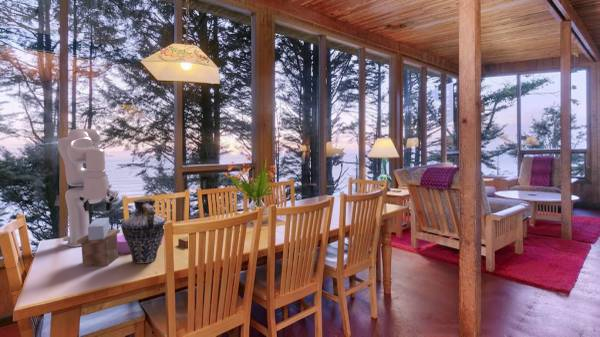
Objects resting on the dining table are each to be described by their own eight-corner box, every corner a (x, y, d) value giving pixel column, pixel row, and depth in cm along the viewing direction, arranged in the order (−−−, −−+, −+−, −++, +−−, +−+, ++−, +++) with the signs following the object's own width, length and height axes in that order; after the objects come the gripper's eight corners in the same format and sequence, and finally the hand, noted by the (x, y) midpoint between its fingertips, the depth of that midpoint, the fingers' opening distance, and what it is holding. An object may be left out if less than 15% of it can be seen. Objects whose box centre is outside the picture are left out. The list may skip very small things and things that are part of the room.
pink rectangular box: (116, 256, 170) (114, 230, 168) (111, 248, 182) (109, 224, 180) (167, 246, 185) (166, 222, 184) (159, 239, 197) (158, 217, 196)
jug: (116, 261, 162) (113, 199, 159) (155, 250, 177) (153, 194, 174) (135, 271, 149) (132, 205, 146) (176, 259, 164) (174, 199, 161)
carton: (178, 245, 187) (177, 238, 186) (203, 239, 198) (203, 232, 198) (185, 248, 181) (185, 241, 181) (211, 242, 193) (211, 234, 192)
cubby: (79, 269, 152) (77, 240, 151) (98, 256, 169) (96, 230, 168) (104, 268, 153) (102, 239, 152) (120, 255, 170) (119, 229, 169)
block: (95, 230, 167) (95, 218, 167) (109, 229, 170) (108, 217, 169) (88, 240, 151) (87, 227, 150) (103, 238, 153) (103, 225, 152)
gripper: (72, 175, 153) (74, 212, 155) (111, 175, 154) (113, 212, 156) (81, 173, 160) (83, 208, 162) (119, 173, 162) (120, 208, 164)
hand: (98, 210), depth 159 cm, fingers open, 9 cm apart
